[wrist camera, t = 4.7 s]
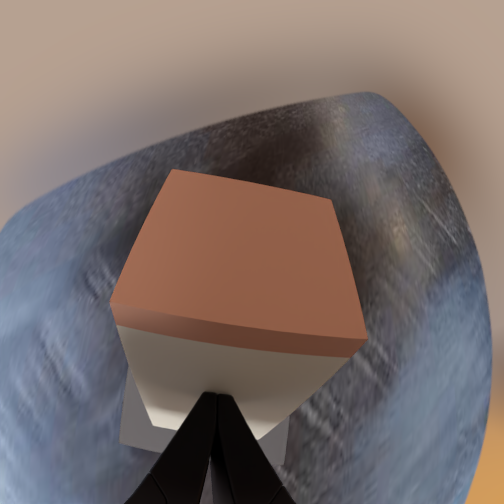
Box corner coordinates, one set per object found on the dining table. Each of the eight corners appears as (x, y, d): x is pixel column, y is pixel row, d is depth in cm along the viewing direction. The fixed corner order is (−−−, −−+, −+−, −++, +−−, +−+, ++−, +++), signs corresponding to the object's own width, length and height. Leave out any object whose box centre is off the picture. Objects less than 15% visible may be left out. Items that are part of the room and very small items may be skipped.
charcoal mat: (281, 462, 14) (283, 464, 13) (120, 441, 13) (118, 442, 12) (300, 204, 21) (303, 200, 21) (174, 181, 20) (174, 176, 20)
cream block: (258, 439, 12) (368, 339, 6) (153, 425, 12) (109, 301, 5) (260, 352, 16) (331, 199, 9) (169, 338, 15) (171, 168, 9)
